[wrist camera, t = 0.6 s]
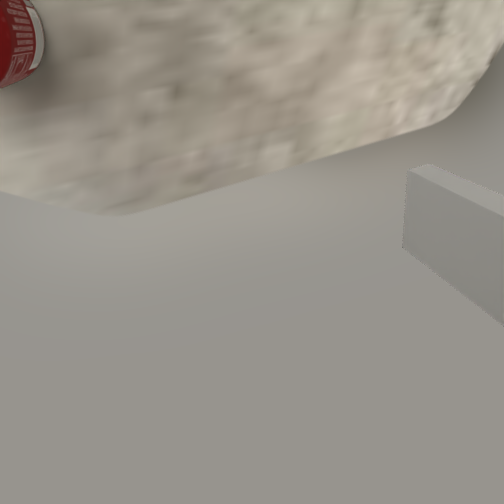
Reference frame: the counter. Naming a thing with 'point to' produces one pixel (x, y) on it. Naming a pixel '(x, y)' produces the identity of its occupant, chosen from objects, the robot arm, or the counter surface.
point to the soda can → (19, 40)
